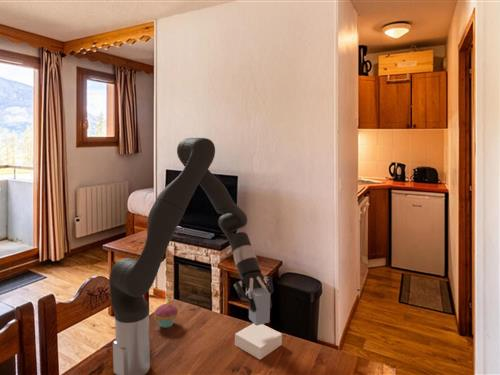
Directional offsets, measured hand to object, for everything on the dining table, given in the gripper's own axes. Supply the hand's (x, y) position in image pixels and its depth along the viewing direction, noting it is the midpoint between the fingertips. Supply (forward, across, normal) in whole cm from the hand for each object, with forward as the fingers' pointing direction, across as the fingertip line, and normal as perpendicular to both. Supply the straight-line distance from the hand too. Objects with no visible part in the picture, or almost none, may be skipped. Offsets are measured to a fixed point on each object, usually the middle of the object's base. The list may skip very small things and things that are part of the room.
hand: (262, 309), depth 113 cm
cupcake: (-9, -24, +29) cm, 39 cm away
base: (+8, 0, +11) cm, 14 cm away
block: (+2, 0, +5) cm, 5 cm away
